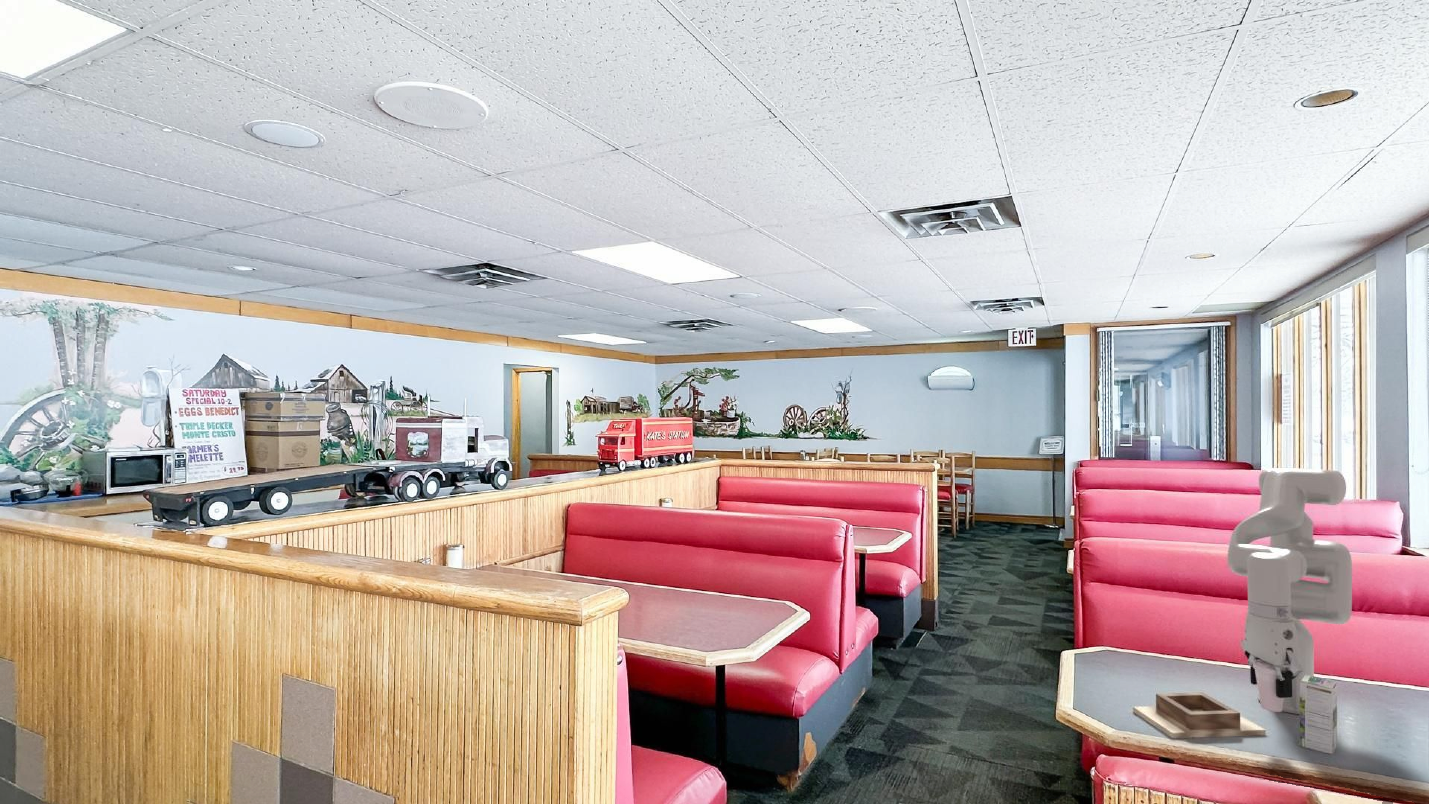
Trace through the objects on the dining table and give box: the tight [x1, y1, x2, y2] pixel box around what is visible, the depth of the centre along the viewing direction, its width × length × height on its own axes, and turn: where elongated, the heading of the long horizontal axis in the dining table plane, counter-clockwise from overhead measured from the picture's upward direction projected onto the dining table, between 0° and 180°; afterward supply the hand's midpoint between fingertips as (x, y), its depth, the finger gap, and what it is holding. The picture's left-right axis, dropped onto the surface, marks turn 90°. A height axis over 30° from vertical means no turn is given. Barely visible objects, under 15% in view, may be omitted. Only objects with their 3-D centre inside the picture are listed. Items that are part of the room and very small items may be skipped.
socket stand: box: [1132, 691, 1267, 739], centre depth 168 cm, size 22×14×5 cm, turn 93°
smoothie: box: [1253, 660, 1286, 713], centre depth 157 cm, size 6×6×14 cm
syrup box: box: [1299, 675, 1338, 755], centre depth 156 cm, size 6×6×14 cm
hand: (1271, 689), depth 158 cm, fingers closed on smoothie, 6 cm apart
